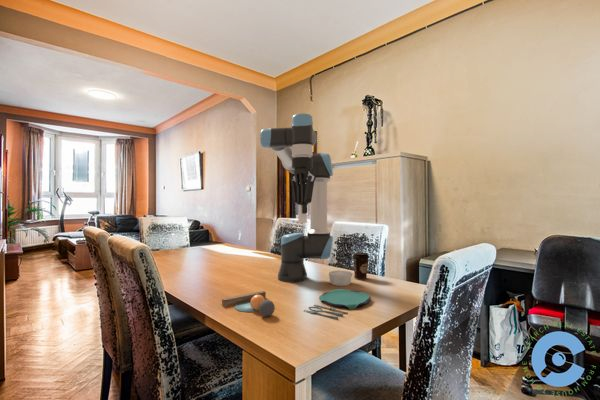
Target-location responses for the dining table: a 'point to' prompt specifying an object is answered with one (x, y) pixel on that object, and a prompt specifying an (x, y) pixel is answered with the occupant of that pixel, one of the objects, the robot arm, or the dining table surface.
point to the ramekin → (340, 278)
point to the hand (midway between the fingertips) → (302, 222)
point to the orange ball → (256, 301)
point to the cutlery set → (340, 301)
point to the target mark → (245, 307)
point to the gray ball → (266, 308)
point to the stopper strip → (241, 298)
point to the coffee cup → (360, 265)
